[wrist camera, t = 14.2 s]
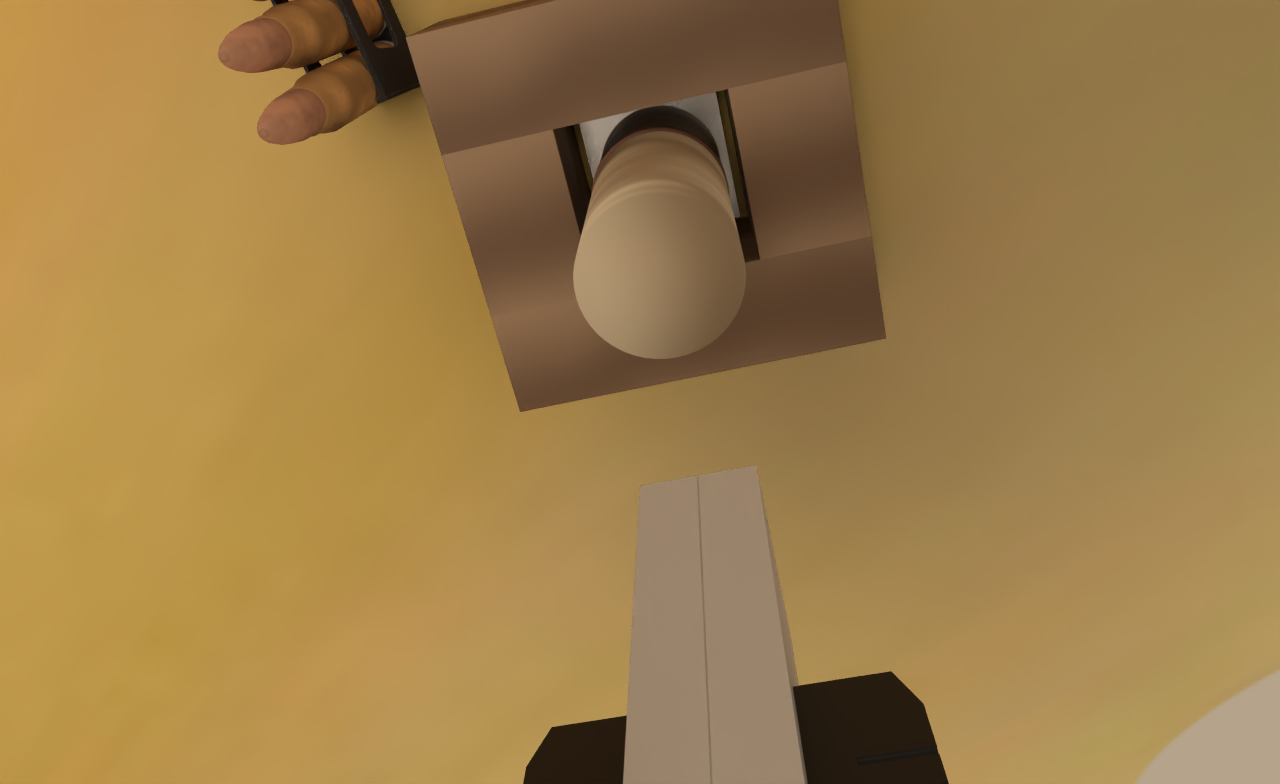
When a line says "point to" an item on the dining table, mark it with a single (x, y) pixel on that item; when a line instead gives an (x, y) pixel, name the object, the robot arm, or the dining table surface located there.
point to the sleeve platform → (698, 106)
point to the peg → (660, 239)
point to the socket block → (627, 81)
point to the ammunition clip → (338, 91)
